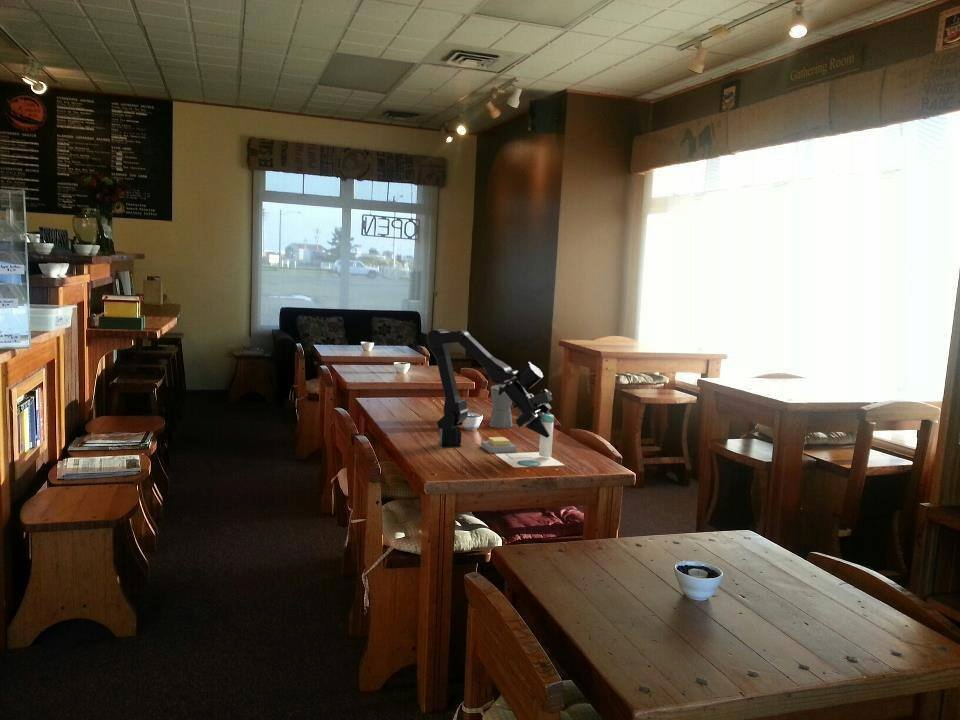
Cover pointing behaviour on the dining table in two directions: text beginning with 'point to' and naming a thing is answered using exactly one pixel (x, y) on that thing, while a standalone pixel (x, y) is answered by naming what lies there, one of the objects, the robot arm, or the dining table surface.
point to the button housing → (498, 448)
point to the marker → (545, 443)
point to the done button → (498, 441)
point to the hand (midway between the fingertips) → (550, 435)
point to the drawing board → (528, 459)
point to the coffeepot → (500, 409)
